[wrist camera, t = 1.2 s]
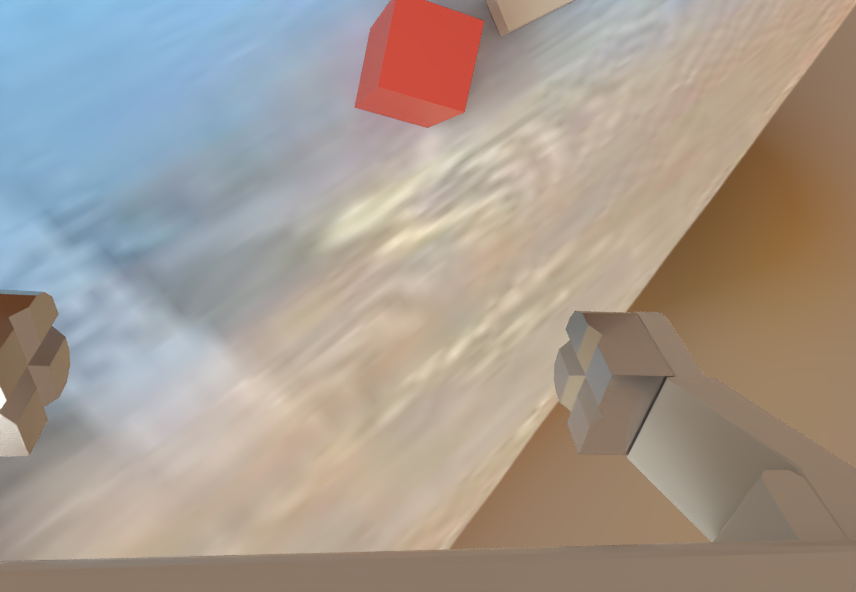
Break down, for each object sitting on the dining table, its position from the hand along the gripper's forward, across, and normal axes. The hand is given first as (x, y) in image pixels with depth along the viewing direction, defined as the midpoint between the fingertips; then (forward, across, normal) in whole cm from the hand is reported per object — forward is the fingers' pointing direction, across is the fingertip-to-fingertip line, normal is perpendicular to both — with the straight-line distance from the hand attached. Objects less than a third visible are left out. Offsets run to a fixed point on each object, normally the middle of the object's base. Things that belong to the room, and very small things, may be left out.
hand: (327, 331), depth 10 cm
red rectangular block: (+36, -4, +7) cm, 37 cm away
